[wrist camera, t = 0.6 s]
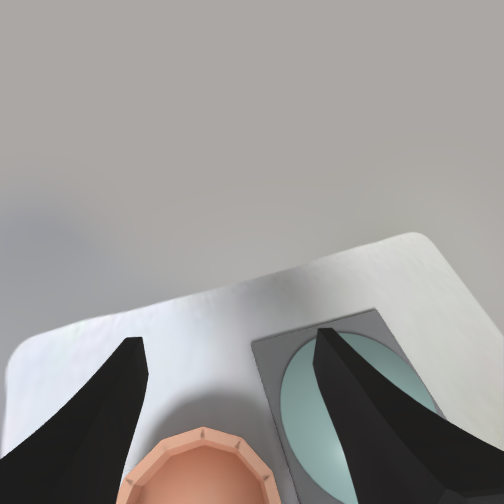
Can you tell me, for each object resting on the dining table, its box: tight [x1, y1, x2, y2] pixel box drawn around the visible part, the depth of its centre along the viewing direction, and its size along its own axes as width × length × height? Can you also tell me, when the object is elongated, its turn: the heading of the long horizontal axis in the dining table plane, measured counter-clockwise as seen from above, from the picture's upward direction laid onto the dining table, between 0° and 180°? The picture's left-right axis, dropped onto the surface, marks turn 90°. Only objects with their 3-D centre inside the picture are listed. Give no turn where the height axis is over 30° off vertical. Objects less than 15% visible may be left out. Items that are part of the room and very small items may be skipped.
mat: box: [251, 310, 447, 504], centre depth 29 cm, size 18×16×1 cm
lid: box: [280, 333, 437, 504], centre depth 27 cm, size 15×15×5 cm
